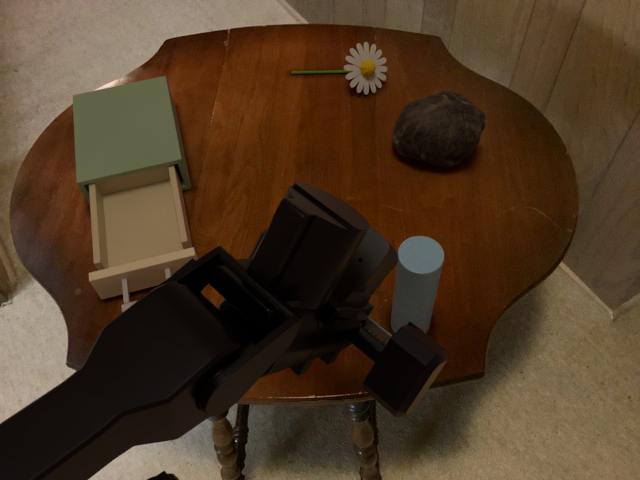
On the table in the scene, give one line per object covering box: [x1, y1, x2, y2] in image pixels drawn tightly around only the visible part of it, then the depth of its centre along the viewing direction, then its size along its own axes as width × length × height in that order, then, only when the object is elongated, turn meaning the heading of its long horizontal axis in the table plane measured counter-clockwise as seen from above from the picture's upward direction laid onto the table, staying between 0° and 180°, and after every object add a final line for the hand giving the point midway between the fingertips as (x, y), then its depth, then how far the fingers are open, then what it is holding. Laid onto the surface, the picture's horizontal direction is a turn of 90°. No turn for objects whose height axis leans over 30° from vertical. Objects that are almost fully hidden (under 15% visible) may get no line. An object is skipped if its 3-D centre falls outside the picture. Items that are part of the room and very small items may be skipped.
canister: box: [390, 235, 445, 334], centre depth 63 cm, size 4×4×14 cm
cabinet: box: [72, 75, 192, 207], centre depth 84 cm, size 17×13×6 cm
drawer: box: [88, 164, 199, 313], centre depth 73 cm, size 21×12×4 cm, turn 15°
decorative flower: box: [291, 41, 389, 96], centre depth 92 cm, size 8×6×15 cm
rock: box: [391, 89, 488, 168], centre depth 80 cm, size 10×11×10 cm
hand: (380, 303), depth 56 cm, fingers open, 9 cm apart
